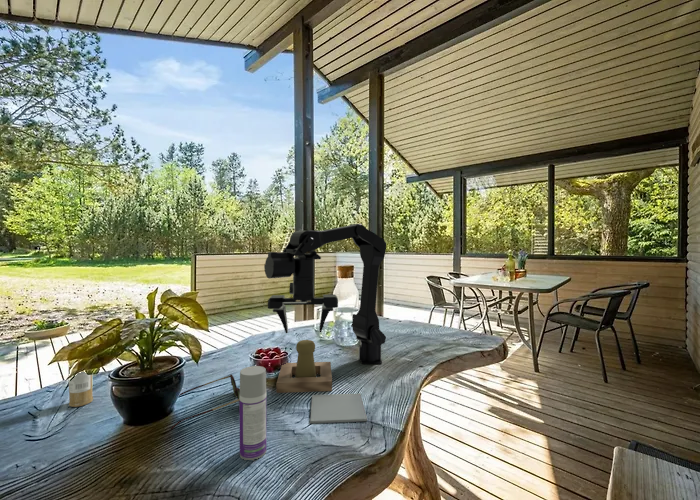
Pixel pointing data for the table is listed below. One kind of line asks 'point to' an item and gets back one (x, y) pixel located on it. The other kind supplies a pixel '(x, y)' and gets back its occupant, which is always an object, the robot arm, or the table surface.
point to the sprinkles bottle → (80, 389)
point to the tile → (337, 408)
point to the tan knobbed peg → (305, 359)
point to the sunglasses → (237, 395)
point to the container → (253, 413)
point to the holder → (304, 379)
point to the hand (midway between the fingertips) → (303, 332)
